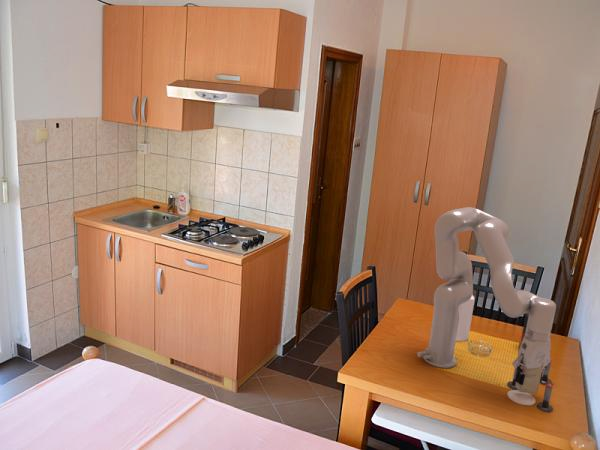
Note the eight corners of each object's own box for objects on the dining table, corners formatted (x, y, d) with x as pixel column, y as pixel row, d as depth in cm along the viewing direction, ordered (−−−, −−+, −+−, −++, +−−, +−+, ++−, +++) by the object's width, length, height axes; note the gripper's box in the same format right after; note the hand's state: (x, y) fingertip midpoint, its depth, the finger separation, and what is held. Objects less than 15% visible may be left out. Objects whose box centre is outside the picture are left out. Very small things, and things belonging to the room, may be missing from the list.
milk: (468, 340, 224) (476, 292, 219) (455, 341, 222) (463, 292, 217) (460, 334, 230) (468, 286, 224) (447, 334, 228) (455, 287, 223)
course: (544, 413, 173) (549, 388, 171) (504, 383, 190) (508, 360, 188) (587, 405, 180) (592, 381, 178) (544, 377, 197) (548, 355, 195)
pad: (520, 407, 175) (520, 405, 175) (501, 392, 184) (502, 391, 184) (541, 403, 179) (541, 402, 179) (521, 389, 187) (522, 388, 187)
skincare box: (519, 392, 179) (526, 360, 176) (514, 385, 184) (521, 354, 181) (537, 394, 179) (544, 362, 176) (532, 387, 184) (539, 355, 181)
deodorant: (532, 354, 216) (539, 320, 212) (517, 349, 219) (524, 316, 216) (536, 349, 220) (542, 316, 217) (521, 344, 224) (527, 312, 220)
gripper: (526, 341, 170) (516, 390, 174) (565, 336, 176) (555, 384, 181) (509, 331, 177) (500, 379, 181) (548, 327, 183) (538, 373, 187)
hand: (527, 381), depth 181 cm, fingers closed on skincare box, 7 cm apart
